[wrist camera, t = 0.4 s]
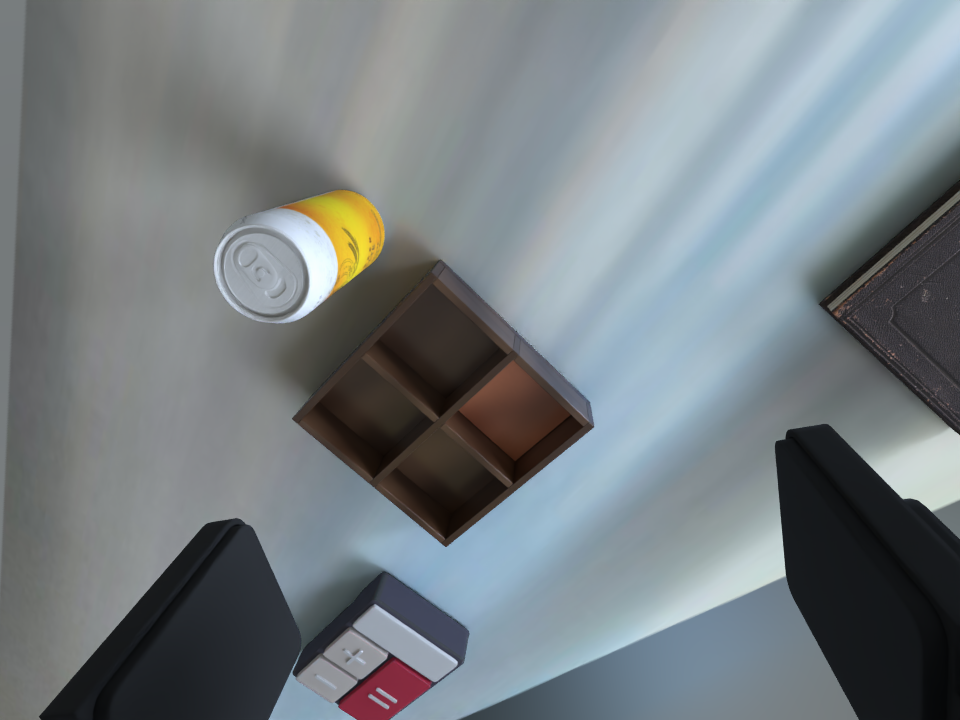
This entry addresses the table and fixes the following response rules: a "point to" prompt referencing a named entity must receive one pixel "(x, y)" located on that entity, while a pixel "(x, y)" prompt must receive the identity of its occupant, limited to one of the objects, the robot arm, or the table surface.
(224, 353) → the table surface
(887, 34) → the table surface
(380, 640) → the calculator
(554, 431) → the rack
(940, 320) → the hardcover book
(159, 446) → the table surface
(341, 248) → the beer can
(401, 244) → the table surface
